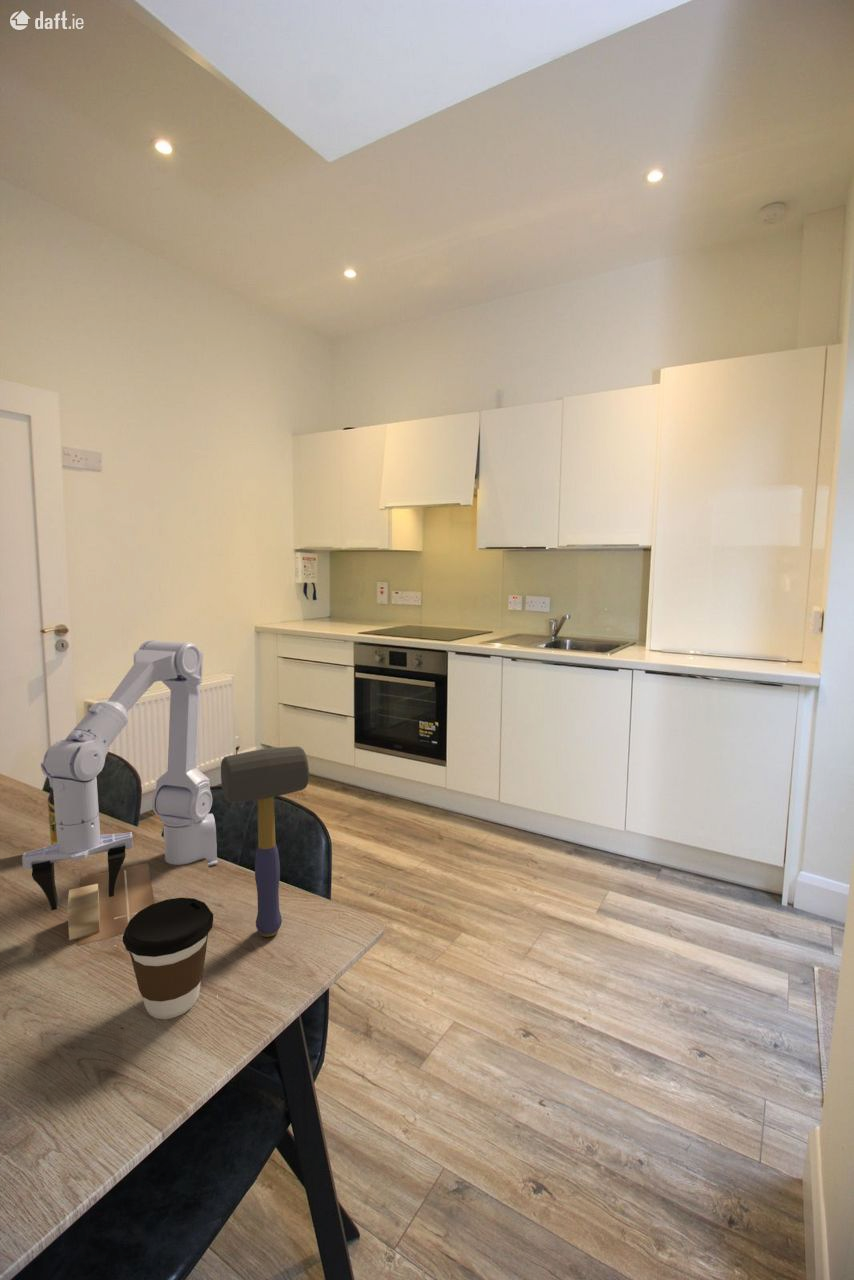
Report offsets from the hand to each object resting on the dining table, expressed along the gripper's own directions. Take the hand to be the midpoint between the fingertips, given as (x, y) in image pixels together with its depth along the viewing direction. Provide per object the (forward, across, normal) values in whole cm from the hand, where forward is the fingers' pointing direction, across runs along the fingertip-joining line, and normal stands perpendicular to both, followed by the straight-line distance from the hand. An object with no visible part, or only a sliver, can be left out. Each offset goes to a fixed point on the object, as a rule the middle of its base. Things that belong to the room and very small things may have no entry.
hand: (83, 900), depth 91 cm
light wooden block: (+6, 0, 0) cm, 6 cm away
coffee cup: (+6, +10, -22) cm, 25 cm away
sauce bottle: (+6, -4, +32) cm, 33 cm away
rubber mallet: (+6, +26, -13) cm, 29 cm away
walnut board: (+6, +4, +6) cm, 9 cm away
